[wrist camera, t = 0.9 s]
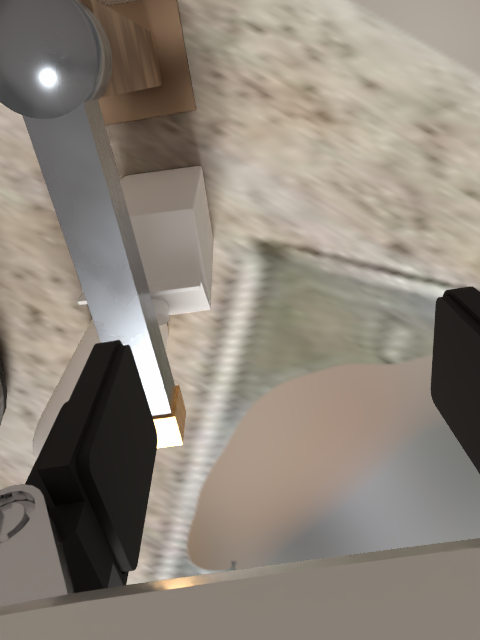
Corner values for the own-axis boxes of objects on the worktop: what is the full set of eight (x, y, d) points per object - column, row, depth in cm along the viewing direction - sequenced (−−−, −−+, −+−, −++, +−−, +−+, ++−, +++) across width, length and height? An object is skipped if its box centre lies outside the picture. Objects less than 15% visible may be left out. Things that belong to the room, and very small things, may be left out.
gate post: (74, 14, 35) (-78, -48, 17) (175, -4, 35) (128, -86, 17) (104, 124, 39) (5, 168, 21) (196, 109, 39) (174, 140, 21)
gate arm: (-16, 0, 18) (-57, -13, 15) (94, -20, 18) (72, -36, 15) (128, 418, 28) (118, 454, 25) (199, 408, 28) (196, 443, 25)
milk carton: (123, 175, 41) (58, 244, 25) (201, 164, 41) (189, 227, 24) (141, 249, 45) (94, 355, 28) (213, 240, 45) (209, 340, 28)
